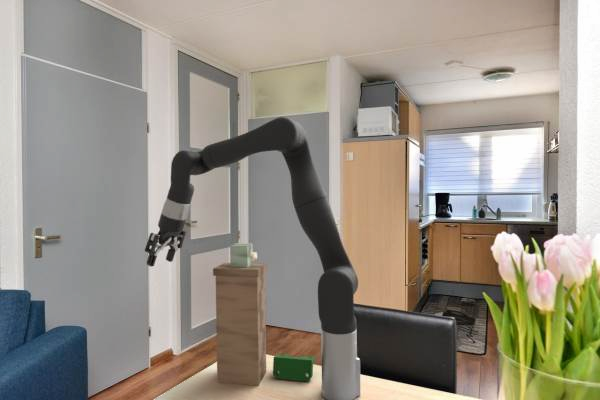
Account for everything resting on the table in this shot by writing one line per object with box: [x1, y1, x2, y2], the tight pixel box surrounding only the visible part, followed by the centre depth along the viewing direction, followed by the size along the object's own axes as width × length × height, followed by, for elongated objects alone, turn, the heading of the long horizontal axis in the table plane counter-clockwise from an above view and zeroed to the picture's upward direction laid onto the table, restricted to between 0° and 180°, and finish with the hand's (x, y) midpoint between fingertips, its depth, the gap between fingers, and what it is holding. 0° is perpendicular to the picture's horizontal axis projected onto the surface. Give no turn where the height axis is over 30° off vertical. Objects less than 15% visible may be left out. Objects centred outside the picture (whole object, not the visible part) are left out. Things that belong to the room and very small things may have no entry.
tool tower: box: [212, 262, 268, 386], centre depth 110 cm, size 9×13×32 cm
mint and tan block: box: [229, 242, 258, 267], centre depth 115 cm, size 14×5×6 cm, turn 170°
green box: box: [272, 353, 316, 382], centre depth 111 cm, size 12×6×9 cm, turn 71°
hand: (159, 263), depth 119 cm, fingers open, 8 cm apart
